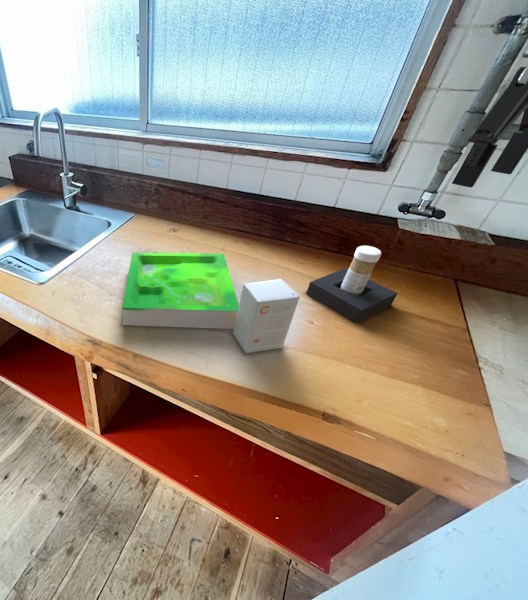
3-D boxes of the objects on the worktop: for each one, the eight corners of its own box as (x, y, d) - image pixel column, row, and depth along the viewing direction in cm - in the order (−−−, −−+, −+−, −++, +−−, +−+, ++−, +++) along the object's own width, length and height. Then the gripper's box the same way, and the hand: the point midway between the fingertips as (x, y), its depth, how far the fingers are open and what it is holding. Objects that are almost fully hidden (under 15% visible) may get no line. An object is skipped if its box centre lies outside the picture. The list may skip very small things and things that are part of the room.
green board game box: (221, 269, 90) (223, 253, 87) (236, 329, 70) (240, 311, 67) (132, 268, 92) (132, 252, 90) (123, 325, 73) (122, 307, 70)
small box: (267, 328, 70) (282, 277, 62) (283, 348, 65) (301, 296, 57) (232, 333, 69) (242, 282, 61) (245, 354, 64) (258, 302, 56)
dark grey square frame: (391, 305, 75) (398, 293, 73) (355, 323, 70) (362, 310, 68) (339, 279, 84) (344, 267, 82) (305, 293, 80) (310, 281, 77)
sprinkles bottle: (350, 293, 79) (373, 244, 71) (361, 304, 75) (387, 254, 67) (331, 294, 79) (352, 245, 71) (342, 305, 75) (365, 255, 67)
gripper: (574, 24, 52) (490, 163, 64) (498, 24, 43) (418, 185, 56) (650, 19, 46) (542, 172, 59) (581, 18, 38) (471, 197, 50)
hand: (482, 178), depth 57 cm, fingers open, 13 cm apart
